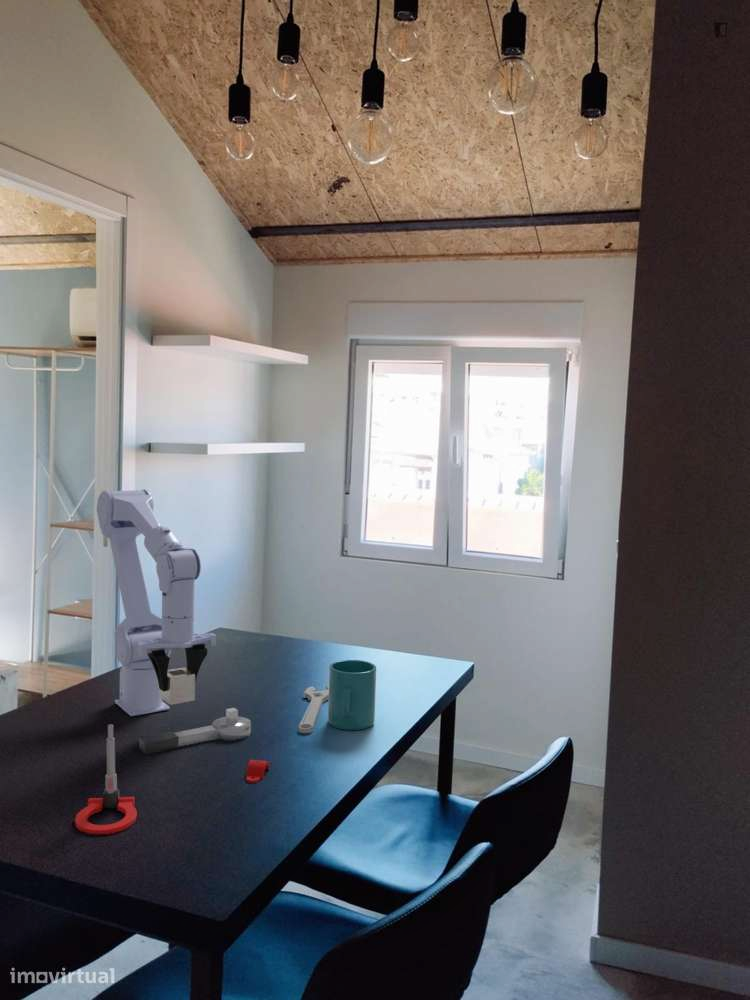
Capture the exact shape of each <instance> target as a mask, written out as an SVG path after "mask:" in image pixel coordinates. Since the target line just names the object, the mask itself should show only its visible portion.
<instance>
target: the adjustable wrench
mask: <svg viewBox="0 0 750 1000" xmlns="http://www.w3.org/2000/svg"><path fill="white" fill-rule="evenodd" d="M302 693H303V694H302V698H303V697H304V698H308V699H310V700H311V701H310V700H309V704H308V706H307V709H306V710H305V712H304V714H303V717H302V719H301V721H300V722H299V725H298V733H299V732H301V733H310V734H312V733H313V732H312V731H314V729H315V726H316V724H317V721H316V720H318V718H319V715H320V712H321V709H322V706H323V704H324V703H326V702H327V701H326V700H328V697H329V684H328V685H325V689H324V690H317V689H316V688H315V687H314V686H309V687H307V688H306V689H305V691H303V692H302ZM304 698H303V699H304ZM308 699H307V700H308ZM325 701H326V702H325ZM323 702H324V703H323ZM322 703H323V704H322ZM321 705H322V706H321ZM320 708H321V709H320ZM319 711H320V712H319ZM318 714H319V715H318ZM317 717H318V718H317ZM314 725H315V726H314ZM313 728H314V729H313ZM311 732H312V733H311ZM301 733H300V734H301Z"/></svg>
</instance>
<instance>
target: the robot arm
mask: <svg viewBox="0 0 750 1000" xmlns="http://www.w3.org/2000/svg"><path fill="white" fill-rule="evenodd" d="M96 514H97V520H98V523H99V527H100V531H101V534H102V536H104V537H106V538H108V539H109V543H110V549H111V553H112V556H113V557H112V558H113V562H114V566H115V567H114V568H115V572H116V576H117V581H118V587H119V591H120V596H121V600H122V605H123V610H124V616H125V618H124V619H123V620H122V621H121V622H120V623H119V624H118V625H117V627H116V629H115V630H114V635H113V636H114V640H115V641H114V652H115V657H116V659H117V661H118V662H119V663H120V665H121V668H120V671H119V699H115V700H114V704H116V705H118V706H119V708H121V709H122V710H123V711H124V712H125V713H126V714H127V715H129V717H134V716H141V715H146V714H152V713H157V712H162V711H167V710H170V706H169V704H168V703H166V702H165V701H164V700H163V699H162V698H160V689H161V690H162V691H167V672H168V670H169V665H170V659H171V657H170V656H171V653H172V651H174V650H181V649H183V650H185V657H186V668H187V669H188V670H190V671H191V672H193V673H194V674H195V683H196V682H197V677H198V675H199V671H200V669H201V666H202V664H203V662H204V661H205V658H206V657H207V655H208V648H207V647H206V646H216V645H217V635H216V634H215V633H212V632H208V633H205V632H204V633H195V632H194V629H195V628H194V627H195V626H194V625H195V622H194V621H195V620H194V619H195V617H194V616H195V580H198V578H199V577H200V574H201V569H202V566H201V559H200V555H199V554H198V551H197V550H196V549H195V548H193V547H191V548H189V547H188V546H187V547H186V546H184V545H183V544H182V542H180V540H179V538H178V537H177V536H176V535H175V533H174V531H173V530H171V528H170V527H169V526H164V525H161V523H160V521H159V520H158V518H157V516H156V513H155V512H154V499H153V496H152V494H151V493H150V491H149V490H148V489H146V488H145V489H140V490H138V489H137V490H113V491H112V490H111V491H110V490H102V491H101V492H100V494H99V495H98V498H97V503H96ZM140 535H143V536H144V539H143V544H144V547H145V549H146V550H147V552H148V553H149V554H150V556H151V558H152V559H153V560H154V561H155V563H156V566H155V569H156V574H157V578H158V588H159V591H161V617H160V616H158V615H156V614H155V613H154V612H152V610H151V606H150V601H149V596H148V592H147V588H146V584H145V583H146V582H145V578H144V573H143V568H142V563H141V560H140V559H141V558H140V555H139V549H138V546H137V537H139V536H140Z"/></svg>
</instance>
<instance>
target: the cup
mask: <svg viewBox="0 0 750 1000" xmlns="http://www.w3.org/2000/svg"><path fill="white" fill-rule="evenodd" d="M328 667H329V669H328V686H329V697H328V701H327V703H328V704H327V706H328V708H327V721H328V723H329V724H330V725H331V726H332V727H334V728H337V729H339V730H343V729H345V730H344V731H361V730H365V729H368V728H370V727H372V725H373V724H374V723H375V718H376V688H377V687H376V685H377V682H376V681H377V666H376V665H375V664H374V663H372V662H369V661H365V660H361V659H342V660H337V661H334V662H332V663H330V664H329V666H328ZM360 729H361V730H360Z"/></svg>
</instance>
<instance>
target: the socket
mask: <svg viewBox="0 0 750 1000" xmlns="http://www.w3.org/2000/svg"><path fill="white" fill-rule="evenodd" d="M160 698H162V701H163V702H164V703H166V704H167V705H168V706H169V705H170V706H171V705H176V704H182V703H189V702H194V701H196V682H195V674H194V673H193V672H191V671H190V670H188V669H187V667H179V668H171V669H168V672H167V691H162V690H161V689H160Z"/></svg>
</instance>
